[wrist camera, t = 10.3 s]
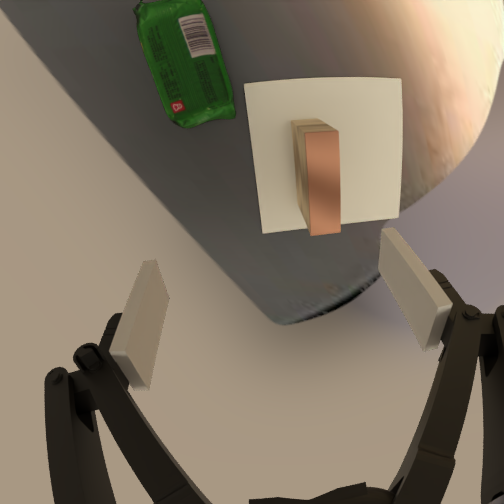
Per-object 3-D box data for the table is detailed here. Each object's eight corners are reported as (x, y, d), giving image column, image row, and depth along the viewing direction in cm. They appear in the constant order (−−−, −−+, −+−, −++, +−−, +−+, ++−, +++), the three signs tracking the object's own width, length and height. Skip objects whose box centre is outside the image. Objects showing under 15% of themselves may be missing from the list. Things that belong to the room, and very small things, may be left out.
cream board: (243, 83, 31) (243, 83, 31) (399, 78, 30) (401, 78, 30) (262, 231, 40) (262, 233, 40) (397, 216, 40) (398, 217, 39)
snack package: (201, -13, 25) (195, -26, 21) (242, 113, 33) (242, 120, 28) (139, 10, 26) (123, 2, 21) (180, 133, 34) (170, 142, 29)
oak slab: (290, 120, 33) (304, 133, 26) (317, 118, 33) (338, 131, 26) (297, 203, 38) (310, 235, 31) (322, 201, 38) (340, 232, 31)
